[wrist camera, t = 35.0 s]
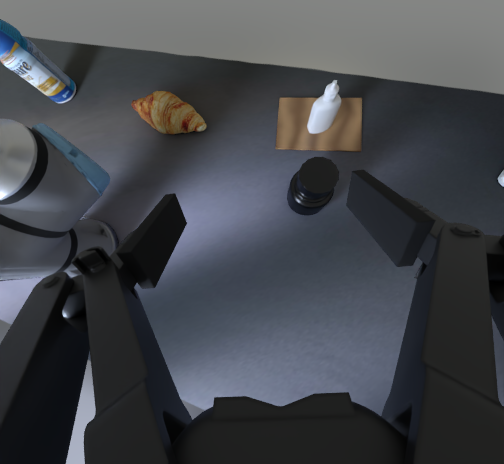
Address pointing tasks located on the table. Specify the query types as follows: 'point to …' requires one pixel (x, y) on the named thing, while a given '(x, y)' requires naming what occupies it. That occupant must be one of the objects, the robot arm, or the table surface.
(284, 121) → the wooden board
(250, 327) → the table surface
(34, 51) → the beverage bottle
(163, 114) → the croissant
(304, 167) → the ink bottle
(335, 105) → the eye dropper bottle
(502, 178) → the photo printer
